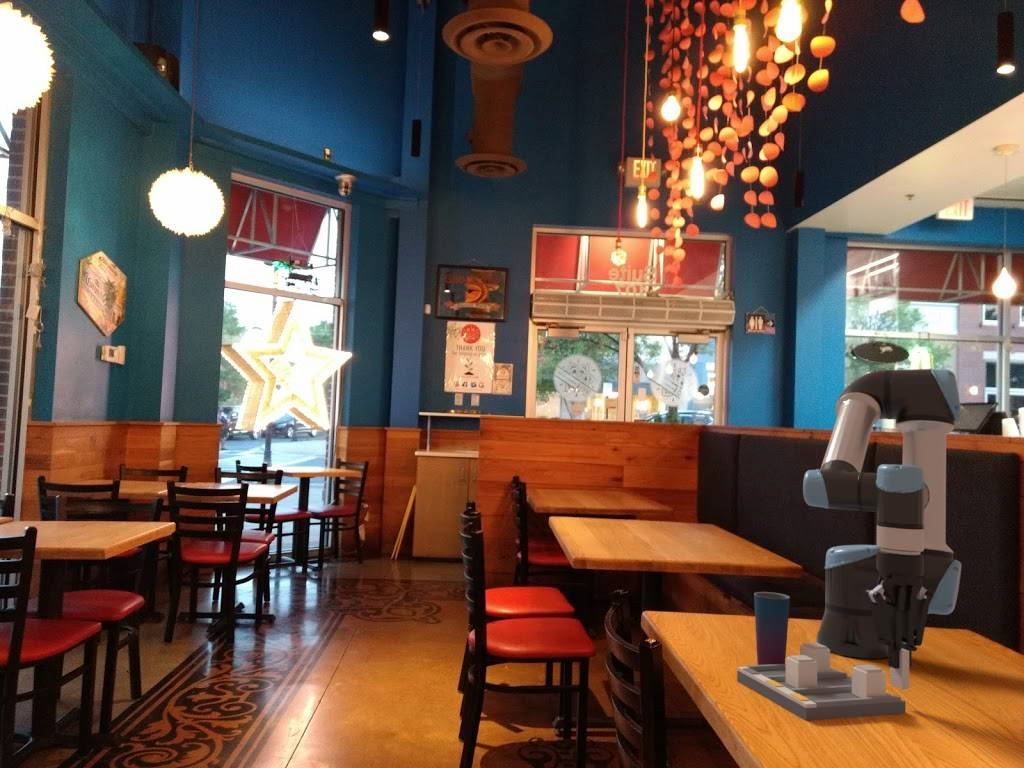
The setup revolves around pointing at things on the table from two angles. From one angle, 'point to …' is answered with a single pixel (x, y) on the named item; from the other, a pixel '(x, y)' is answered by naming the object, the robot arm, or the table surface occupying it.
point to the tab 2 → (868, 681)
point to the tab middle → (801, 671)
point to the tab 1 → (817, 655)
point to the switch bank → (817, 694)
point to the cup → (771, 627)
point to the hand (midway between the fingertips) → (899, 686)
